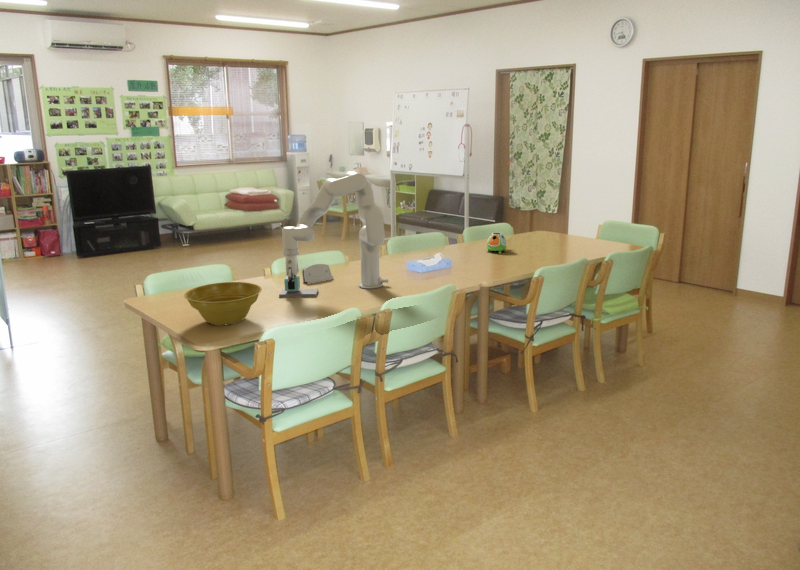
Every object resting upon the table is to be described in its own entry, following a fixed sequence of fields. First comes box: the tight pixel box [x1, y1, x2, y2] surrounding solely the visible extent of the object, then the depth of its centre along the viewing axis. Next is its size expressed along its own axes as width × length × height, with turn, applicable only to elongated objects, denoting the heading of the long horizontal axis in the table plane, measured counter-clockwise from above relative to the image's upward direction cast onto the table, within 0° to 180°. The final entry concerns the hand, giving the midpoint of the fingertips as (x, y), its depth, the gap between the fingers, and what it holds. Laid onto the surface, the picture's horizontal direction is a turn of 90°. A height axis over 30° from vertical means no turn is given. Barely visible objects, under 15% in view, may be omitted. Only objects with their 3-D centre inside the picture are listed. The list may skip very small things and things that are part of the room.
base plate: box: [278, 288, 319, 298], centre depth 324 cm, size 18×10×5 cm, turn 91°
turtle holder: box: [486, 232, 507, 254], centre depth 421 cm, size 12×18×12 cm
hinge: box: [301, 263, 334, 285], centre depth 351 cm, size 17×5×10 cm, turn 128°
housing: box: [284, 275, 301, 291], centre depth 323 cm, size 6×6×6 cm
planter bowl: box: [183, 281, 263, 326], centre depth 282 cm, size 32×32×13 cm
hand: (292, 287), depth 323 cm, fingers closed on housing, 6 cm apart
